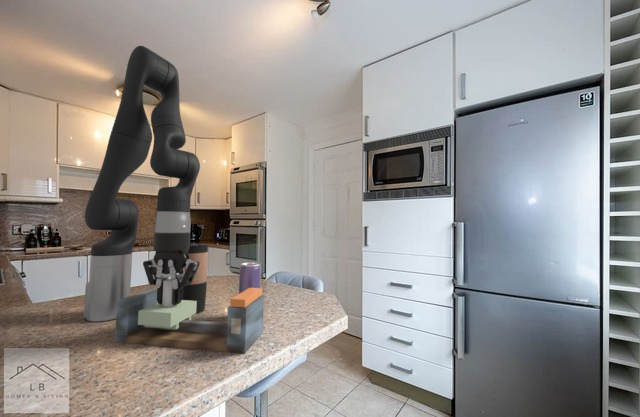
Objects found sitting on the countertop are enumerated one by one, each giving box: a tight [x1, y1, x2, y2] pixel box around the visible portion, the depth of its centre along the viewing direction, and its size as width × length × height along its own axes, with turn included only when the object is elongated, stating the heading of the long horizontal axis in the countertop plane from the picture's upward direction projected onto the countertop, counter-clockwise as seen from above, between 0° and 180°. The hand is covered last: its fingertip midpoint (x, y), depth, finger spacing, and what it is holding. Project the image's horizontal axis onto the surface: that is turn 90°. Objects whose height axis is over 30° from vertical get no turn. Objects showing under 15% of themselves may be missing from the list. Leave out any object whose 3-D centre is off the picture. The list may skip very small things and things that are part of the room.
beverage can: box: [238, 262, 262, 294], centre depth 72 cm, size 6×6×15 cm
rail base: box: [114, 288, 265, 354], centre depth 59 cm, size 30×10×9 cm, turn 82°
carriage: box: [138, 278, 197, 329], centre depth 61 cm, size 8×9×10 cm
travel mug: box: [182, 242, 209, 315], centre depth 77 cm, size 8×8×20 cm
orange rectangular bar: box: [229, 287, 263, 308], centre depth 58 cm, size 3×10×2 cm, turn 172°
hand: (169, 303), depth 61 cm, fingers closed on carriage, 3 cm apart
